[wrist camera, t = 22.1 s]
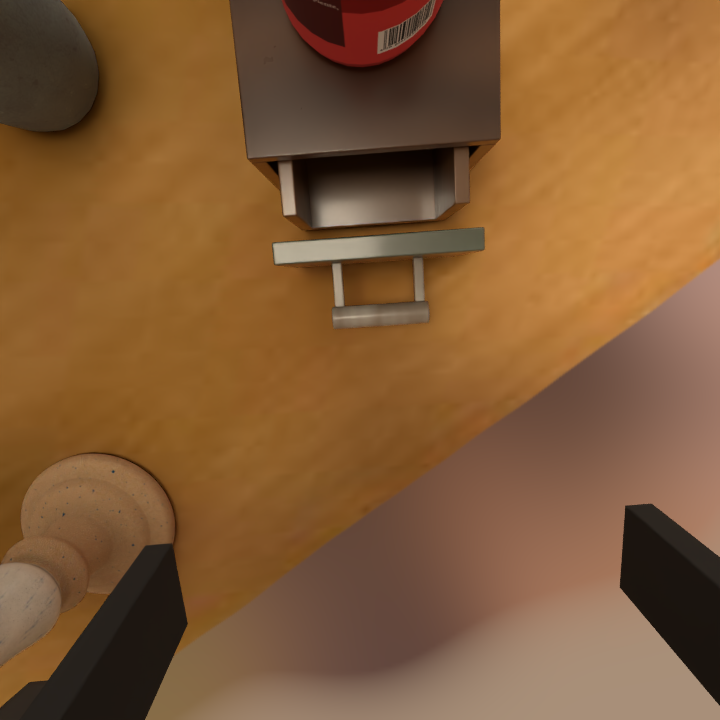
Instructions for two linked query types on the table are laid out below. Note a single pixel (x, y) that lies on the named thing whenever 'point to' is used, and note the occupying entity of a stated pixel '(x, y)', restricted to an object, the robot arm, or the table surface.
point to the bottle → (44, 66)
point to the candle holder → (76, 541)
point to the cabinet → (367, 89)
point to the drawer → (376, 219)
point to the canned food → (361, 27)
